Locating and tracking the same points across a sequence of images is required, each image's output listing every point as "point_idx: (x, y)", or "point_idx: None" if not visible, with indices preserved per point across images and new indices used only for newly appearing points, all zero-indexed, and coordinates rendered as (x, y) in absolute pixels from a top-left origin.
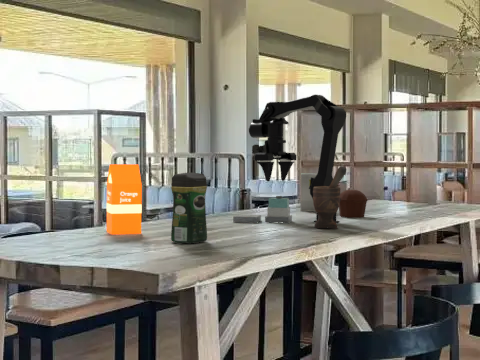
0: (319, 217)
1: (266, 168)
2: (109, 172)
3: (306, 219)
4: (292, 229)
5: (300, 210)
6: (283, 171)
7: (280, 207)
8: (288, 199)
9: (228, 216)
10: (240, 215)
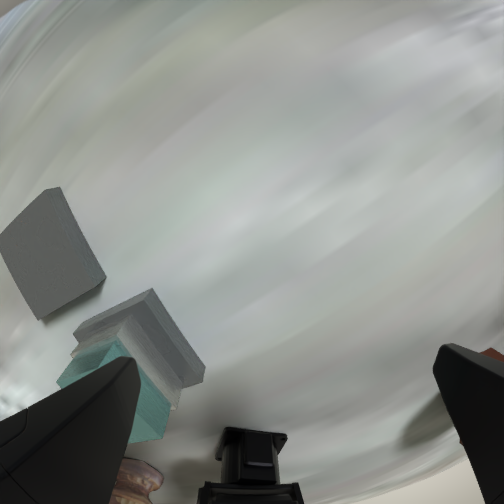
0: (116, 482)
1: (28, 485)
2: None
3: (316, 364)
4: None
5: None
6: (493, 426)
7: None
8: (144, 438)
9: (176, 22)
10: (27, 231)
